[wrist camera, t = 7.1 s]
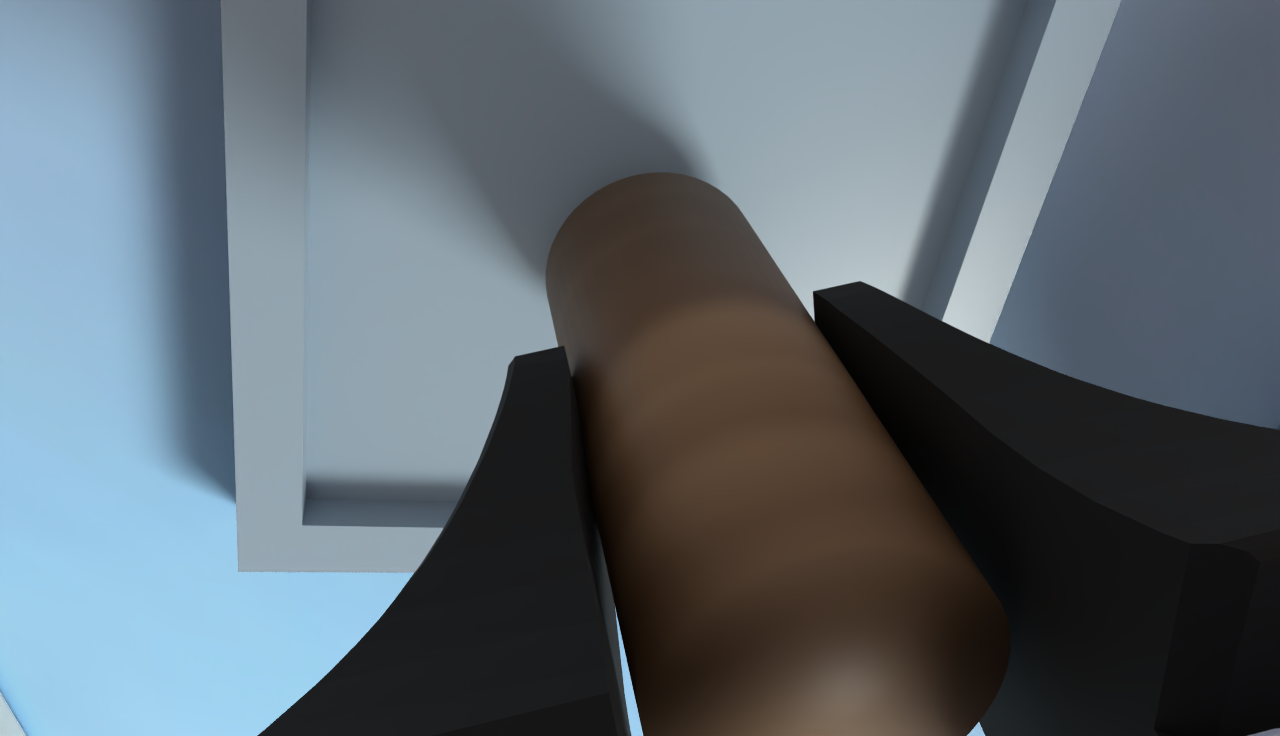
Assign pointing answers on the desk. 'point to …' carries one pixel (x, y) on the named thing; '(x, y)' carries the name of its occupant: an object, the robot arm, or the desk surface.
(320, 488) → the tray
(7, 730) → the small box
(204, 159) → the desk surface
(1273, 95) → the desk surface
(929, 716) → the pin
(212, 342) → the desk surface
